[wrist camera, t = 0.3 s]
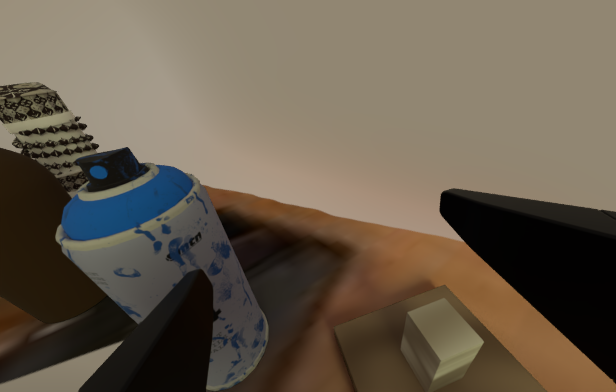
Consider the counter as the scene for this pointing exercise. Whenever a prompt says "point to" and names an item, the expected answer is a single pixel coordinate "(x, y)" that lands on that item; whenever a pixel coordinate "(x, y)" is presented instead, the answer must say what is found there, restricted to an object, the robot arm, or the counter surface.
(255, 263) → the counter surface
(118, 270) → the aerosol can
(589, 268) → the robot arm
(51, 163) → the decorative candle
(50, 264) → the olive oil
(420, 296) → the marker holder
